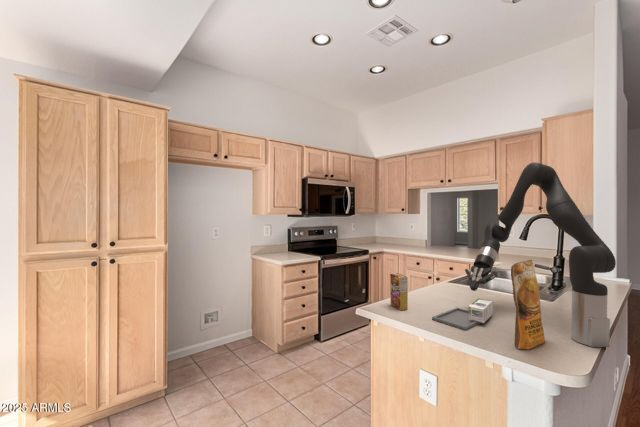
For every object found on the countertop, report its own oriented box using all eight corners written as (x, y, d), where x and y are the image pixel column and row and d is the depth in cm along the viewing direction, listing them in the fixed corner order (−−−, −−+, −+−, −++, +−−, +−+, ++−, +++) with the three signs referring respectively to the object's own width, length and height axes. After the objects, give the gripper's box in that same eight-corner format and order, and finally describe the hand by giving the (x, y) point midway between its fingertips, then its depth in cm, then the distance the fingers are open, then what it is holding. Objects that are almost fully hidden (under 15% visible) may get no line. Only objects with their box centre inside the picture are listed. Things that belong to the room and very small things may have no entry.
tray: (456, 310, 137) (456, 307, 137) (489, 318, 126) (489, 316, 126) (432, 319, 125) (432, 316, 125) (465, 330, 114) (465, 327, 114)
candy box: (389, 304, 145) (389, 273, 144) (397, 303, 146) (397, 272, 146) (399, 310, 136) (399, 277, 136) (408, 309, 137) (408, 276, 137)
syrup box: (492, 300, 129) (483, 308, 118) (492, 314, 129) (483, 323, 118) (478, 298, 132) (468, 305, 122) (478, 311, 132) (468, 320, 122)
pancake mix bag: (502, 345, 102) (502, 262, 101) (530, 333, 111) (531, 258, 111) (523, 353, 96) (524, 266, 95) (551, 340, 106) (552, 260, 105)
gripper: (468, 251, 142) (454, 281, 135) (498, 255, 132) (485, 287, 125) (473, 261, 146) (460, 291, 138) (503, 266, 135) (491, 298, 128)
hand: (472, 289), depth 131 cm, fingers closed
